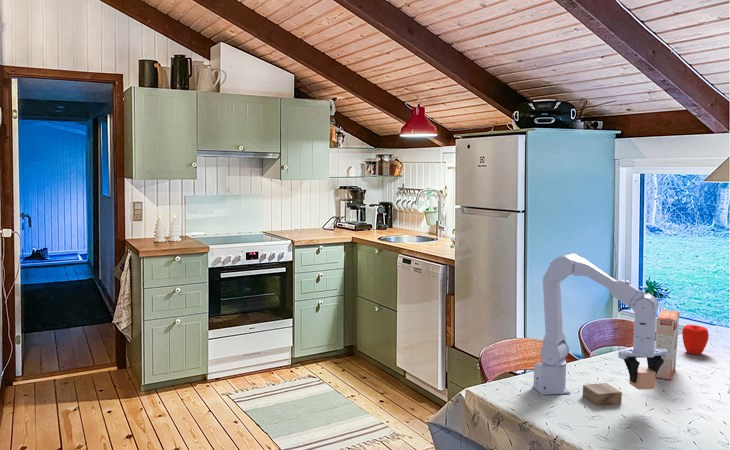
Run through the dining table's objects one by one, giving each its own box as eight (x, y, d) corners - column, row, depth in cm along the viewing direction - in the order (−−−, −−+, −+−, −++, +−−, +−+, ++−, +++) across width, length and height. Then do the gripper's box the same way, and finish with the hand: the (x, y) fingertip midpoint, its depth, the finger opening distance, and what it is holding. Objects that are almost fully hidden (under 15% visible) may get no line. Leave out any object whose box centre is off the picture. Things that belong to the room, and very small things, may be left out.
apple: (708, 352, 240) (709, 324, 239) (706, 358, 232) (708, 329, 231) (682, 348, 244) (683, 321, 243) (679, 354, 237) (681, 326, 236)
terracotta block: (638, 389, 181) (639, 372, 180) (629, 383, 186) (630, 367, 185) (654, 388, 182) (655, 372, 181) (644, 382, 187) (645, 366, 186)
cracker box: (672, 381, 208) (675, 319, 206) (652, 377, 211) (655, 317, 209) (676, 369, 220) (680, 311, 218) (658, 366, 223) (661, 308, 221)
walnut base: (597, 407, 187) (598, 394, 186) (582, 397, 194) (583, 384, 194) (621, 404, 188) (621, 392, 188) (605, 395, 196) (606, 382, 196)
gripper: (628, 341, 177) (626, 387, 179) (675, 339, 179) (673, 385, 181) (615, 334, 184) (613, 378, 186) (661, 332, 186) (658, 376, 188)
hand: (642, 381), depth 184 cm, fingers closed on terracotta block, 5 cm apart
